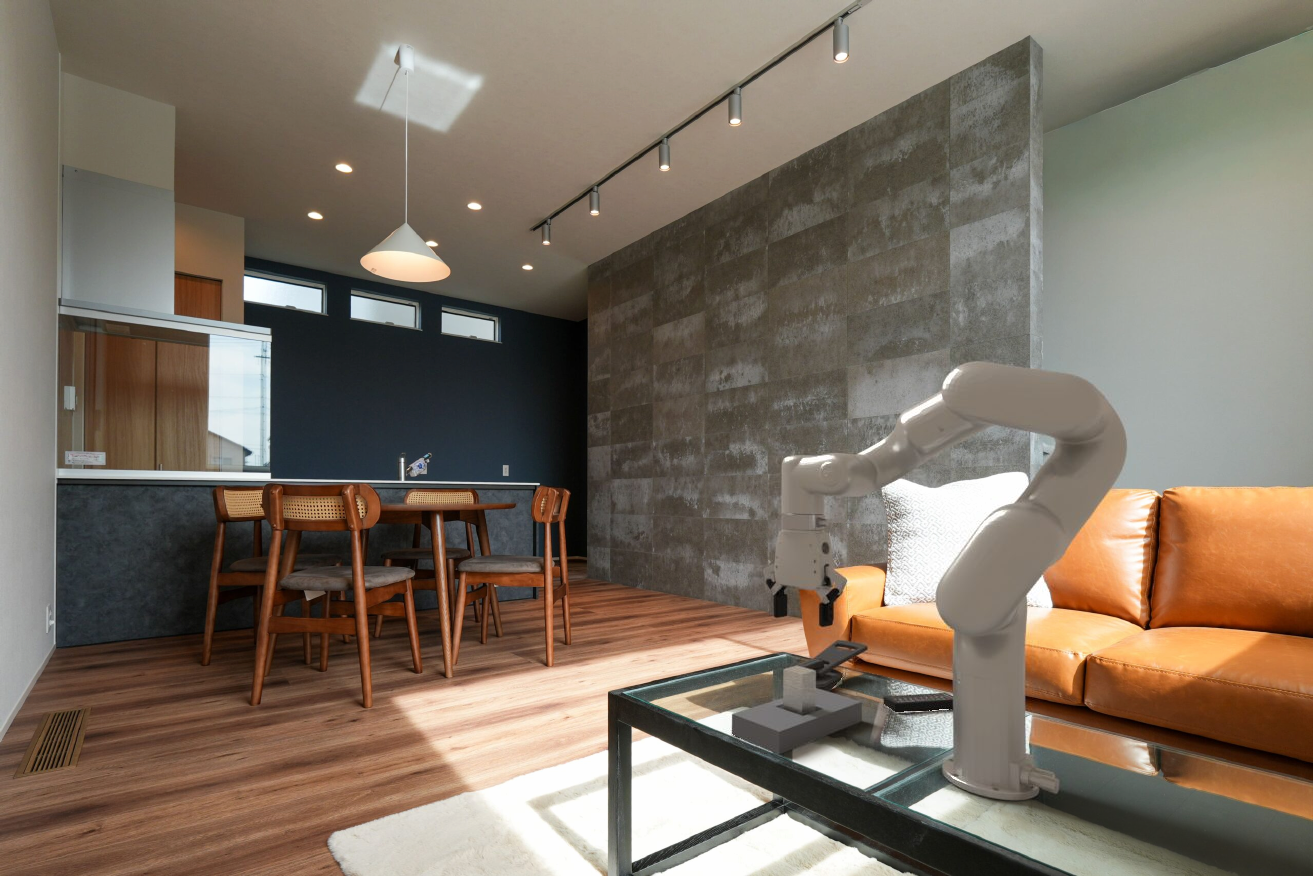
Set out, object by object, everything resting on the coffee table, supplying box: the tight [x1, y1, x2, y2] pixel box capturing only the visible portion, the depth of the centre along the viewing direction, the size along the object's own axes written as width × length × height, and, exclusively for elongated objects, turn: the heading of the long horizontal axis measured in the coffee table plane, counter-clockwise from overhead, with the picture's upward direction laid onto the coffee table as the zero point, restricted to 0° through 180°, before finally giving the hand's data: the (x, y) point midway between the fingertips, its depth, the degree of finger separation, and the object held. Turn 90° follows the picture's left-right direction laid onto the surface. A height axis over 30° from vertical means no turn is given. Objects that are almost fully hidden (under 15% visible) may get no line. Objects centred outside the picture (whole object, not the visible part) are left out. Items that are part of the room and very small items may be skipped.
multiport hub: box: [883, 692, 953, 712], centre depth 127 cm, size 4×14×2 cm, turn 105°
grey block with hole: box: [731, 688, 863, 755], centre depth 114 cm, size 10×24×4 cm, turn 131°
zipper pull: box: [795, 639, 869, 692], centre depth 143 cm, size 9×7×25 cm
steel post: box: [782, 665, 816, 716], centre depth 114 cm, size 4×4×10 cm
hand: (802, 621), depth 115 cm, fingers open, 9 cm apart
